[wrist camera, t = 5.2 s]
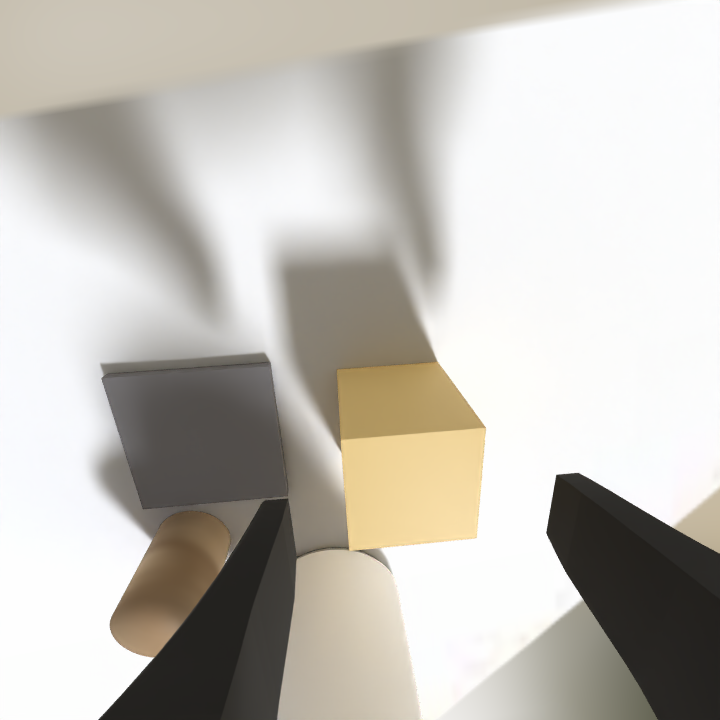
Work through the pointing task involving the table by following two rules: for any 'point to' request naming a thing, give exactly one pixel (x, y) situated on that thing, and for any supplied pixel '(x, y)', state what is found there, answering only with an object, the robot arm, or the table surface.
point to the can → (347, 643)
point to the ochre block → (408, 456)
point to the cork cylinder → (170, 581)
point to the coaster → (200, 433)
